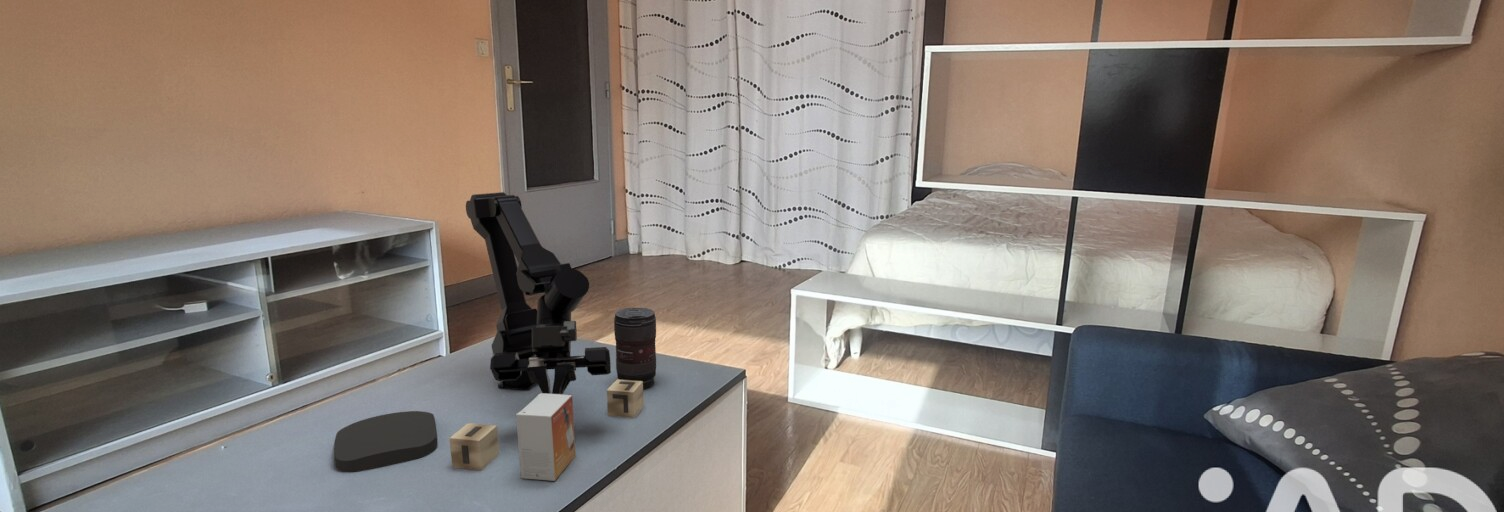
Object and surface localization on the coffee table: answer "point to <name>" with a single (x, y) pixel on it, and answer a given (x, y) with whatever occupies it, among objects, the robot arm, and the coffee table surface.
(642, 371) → the camera lens
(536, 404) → the small box
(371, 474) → the coffee table surface
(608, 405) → the marked block right
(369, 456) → the media streaming box
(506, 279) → the robot arm
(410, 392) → the coffee table surface
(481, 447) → the marked block left
